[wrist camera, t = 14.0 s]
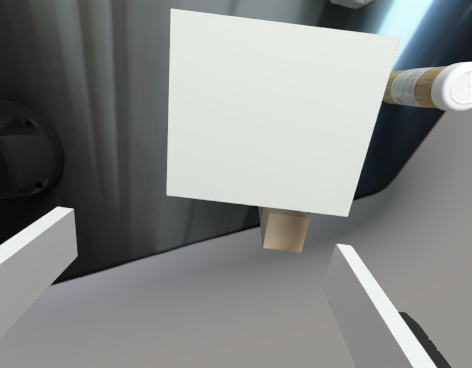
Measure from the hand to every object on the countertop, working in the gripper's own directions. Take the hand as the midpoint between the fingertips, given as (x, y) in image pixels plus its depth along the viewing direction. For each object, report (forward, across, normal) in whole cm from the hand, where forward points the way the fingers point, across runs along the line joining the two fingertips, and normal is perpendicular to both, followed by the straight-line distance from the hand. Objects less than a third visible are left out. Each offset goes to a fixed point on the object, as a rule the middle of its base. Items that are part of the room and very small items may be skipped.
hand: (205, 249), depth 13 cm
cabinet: (+30, +4, +5) cm, 30 cm away
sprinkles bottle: (+29, +23, +11) cm, 39 cm away
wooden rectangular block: (+29, +9, -3) cm, 31 cm away
